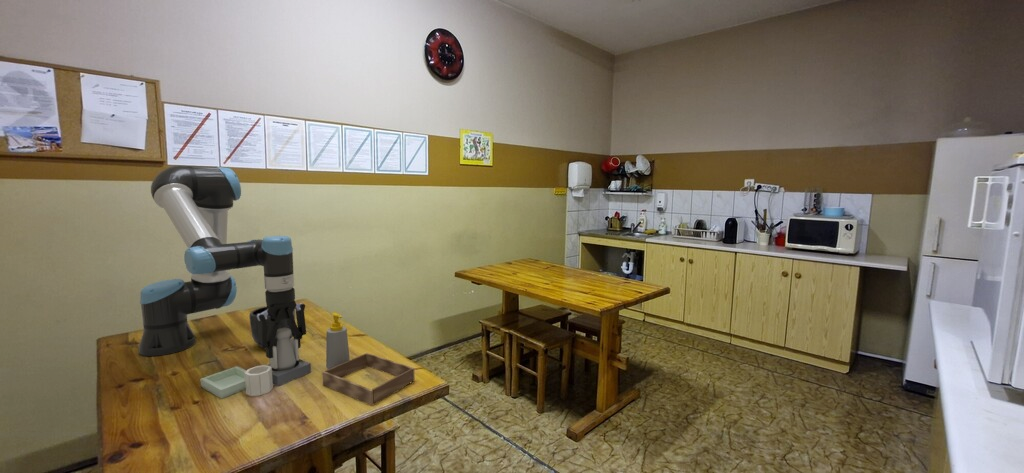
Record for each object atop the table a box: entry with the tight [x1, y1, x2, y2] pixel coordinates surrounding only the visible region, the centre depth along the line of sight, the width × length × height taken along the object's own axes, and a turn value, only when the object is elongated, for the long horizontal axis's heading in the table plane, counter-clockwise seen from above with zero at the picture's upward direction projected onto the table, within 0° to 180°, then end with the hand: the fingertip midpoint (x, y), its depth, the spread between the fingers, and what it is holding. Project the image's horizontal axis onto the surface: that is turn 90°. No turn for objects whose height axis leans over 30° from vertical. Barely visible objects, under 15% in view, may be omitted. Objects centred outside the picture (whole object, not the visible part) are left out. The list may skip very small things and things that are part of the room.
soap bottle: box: [325, 312, 351, 370], centre depth 125 cm, size 7×7×18 cm
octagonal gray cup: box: [245, 364, 274, 397], centre depth 112 cm, size 6×6×6 cm
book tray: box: [321, 352, 416, 407], centre depth 117 cm, size 21×16×4 cm
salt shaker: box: [276, 328, 296, 371], centre depth 121 cm, size 6×6×13 cm
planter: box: [249, 305, 296, 350], centre depth 143 cm, size 14×14×13 cm
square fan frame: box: [267, 358, 312, 387], centre depth 121 cm, size 10×10×3 cm
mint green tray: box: [199, 365, 248, 400], centre depth 115 cm, size 12×10×2 cm
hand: (284, 363), depth 121 cm, fingers closed on salt shaker, 6 cm apart
